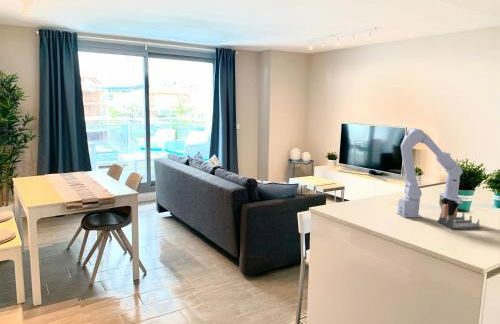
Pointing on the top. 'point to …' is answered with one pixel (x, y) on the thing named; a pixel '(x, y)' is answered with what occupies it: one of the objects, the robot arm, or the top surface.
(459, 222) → the pegged metal rack
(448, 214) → the peach brick
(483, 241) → the top surface
